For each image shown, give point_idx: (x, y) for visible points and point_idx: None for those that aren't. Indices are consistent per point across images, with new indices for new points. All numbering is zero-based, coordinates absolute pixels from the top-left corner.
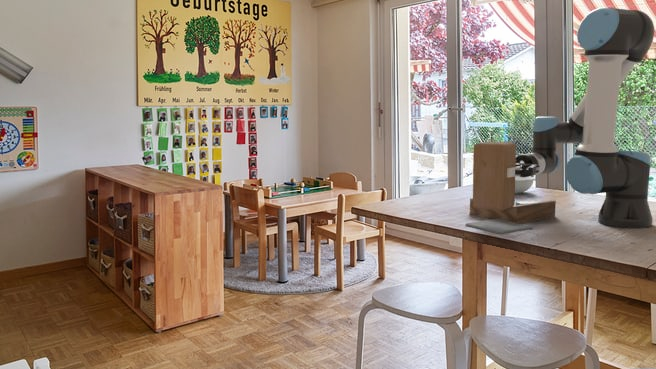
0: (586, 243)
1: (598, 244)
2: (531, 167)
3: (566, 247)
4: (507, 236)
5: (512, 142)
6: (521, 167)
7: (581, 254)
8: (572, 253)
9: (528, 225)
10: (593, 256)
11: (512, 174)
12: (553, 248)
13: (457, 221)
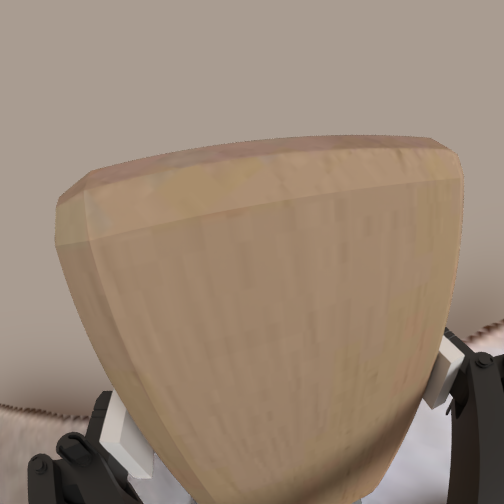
0: (26, 486)
1: (10, 488)
2: (35, 477)
3: (50, 440)
4: None
5: (94, 172)
6: (110, 473)
7: (29, 415)
8: (40, 413)
9: None
10: (17, 414)
11: None
12: (67, 422)
13: (406, 443)
